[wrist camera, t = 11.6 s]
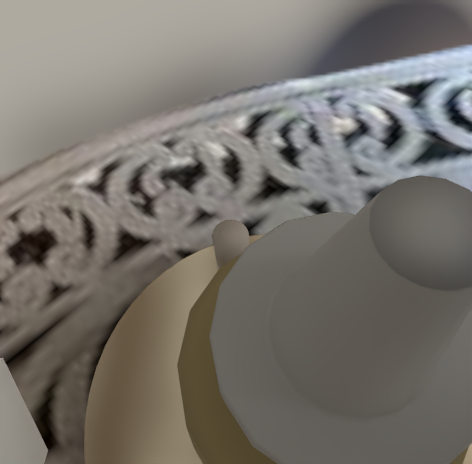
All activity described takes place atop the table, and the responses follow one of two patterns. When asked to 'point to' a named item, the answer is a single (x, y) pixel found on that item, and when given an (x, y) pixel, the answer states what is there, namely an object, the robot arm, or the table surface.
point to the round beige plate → (155, 365)
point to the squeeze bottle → (340, 338)
